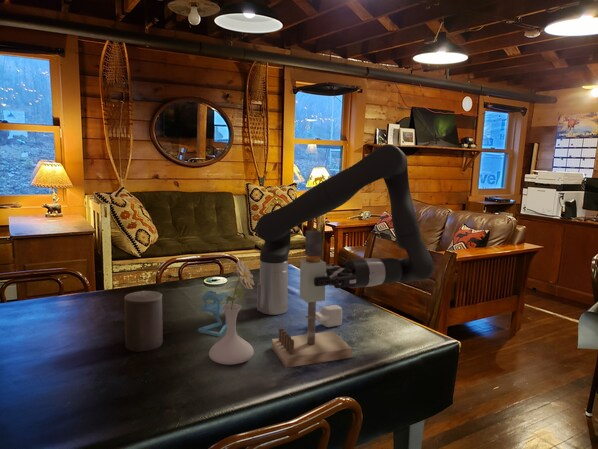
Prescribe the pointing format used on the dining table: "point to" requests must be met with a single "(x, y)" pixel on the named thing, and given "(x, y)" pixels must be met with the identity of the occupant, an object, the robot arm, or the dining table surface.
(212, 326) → the chair
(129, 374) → the dining table surface
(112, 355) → the dining table surface
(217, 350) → the flower in vase
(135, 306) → the pillar candle
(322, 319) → the power adapter
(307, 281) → the square hollow tube
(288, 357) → the post
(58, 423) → the dining table surface
